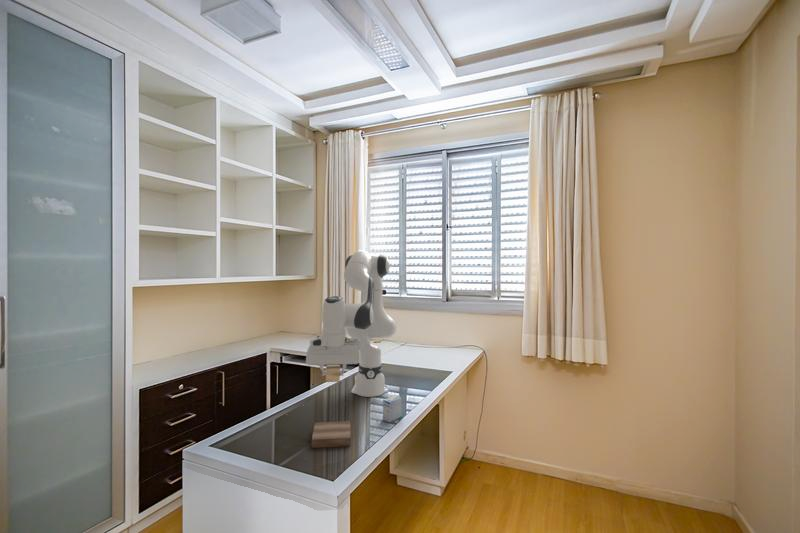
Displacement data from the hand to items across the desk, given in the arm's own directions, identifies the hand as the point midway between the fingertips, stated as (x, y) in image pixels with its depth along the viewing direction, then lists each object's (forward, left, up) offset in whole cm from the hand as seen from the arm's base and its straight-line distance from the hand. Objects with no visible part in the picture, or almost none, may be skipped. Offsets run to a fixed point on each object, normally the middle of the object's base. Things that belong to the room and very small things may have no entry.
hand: (333, 375), depth 143 cm
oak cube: (0, 0, -2) cm, 2 cm away
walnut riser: (0, 0, -24) cm, 24 cm away
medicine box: (-15, +25, -24) cm, 38 cm away
